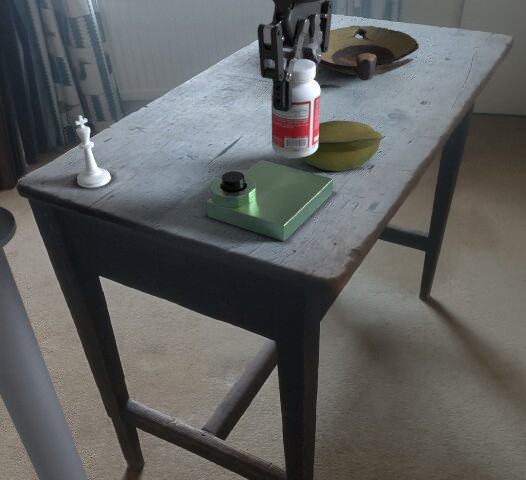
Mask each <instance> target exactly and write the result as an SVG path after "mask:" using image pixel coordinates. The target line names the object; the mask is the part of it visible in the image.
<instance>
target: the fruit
mask: <svg viewBox="0 0 526 480" xmlns="http://www.w3.org/2000/svg"><path fill="white" fill-rule="evenodd" d="M383 139H384V137H383V135H382V133H381V132H380V131H376V130H374V128H373V127H372V126H371V125H368V124H365V123H363V122H359V121H353V120H328V121H324V122H319V139H318V148H317V150H316V151H315V152H314V153H313V154H311V155H309V156H306V157H301V158H299V159H300V160H302V161H303V162H305V163H306V164H309V166H311V167H314V168H316V169H319V170H324V171H329V172H345V171H346V172H347V171H350V170H354V169H357V168H360V167H361V166H363V165H364V164H366V163H367V162H368V161H370V160H371V158H373V157H374V155H376V153H377V152H378V150H379V147H380V143H381V141H382V140H383Z"/></svg>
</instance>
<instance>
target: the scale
mask: <svg viewBox="0 0 526 480" xmlns="http://www.w3.org/2000/svg"><path fill="white" fill-rule="evenodd" d="M243 174H244V180H245V189H244V190H243V191H240V192H226V191H224V190H223V189H222V176H221V177H218V178H217V179H215V180H214V181H213V182H212V183H211V187H210V193H211V194H210V195H211V197H210V198H209V199H208V200H207V201H206V210H207V211H206V212H207V217H208V218H211V219H214V220H217V221H221V222H223V223H226V224H229V225H233V226H235V227H238V228H242V229H244V230H248V231H251V232H254V233H256V234H260V235H262V236H266V237H269V238H272V239H274V240H278V241H282V242H285V241H286V240H287V239H288V238H289V237H290V236H291V235H292V234H293V233H294V232H295V231H296V230H297V229H298V228H299V227H300V226H301V225H302V224H303V223H304V222H305V221H306V220H307V219H308V218H309V217H310V216H311V215H313V213H314V212H315V211H316V210H317V209H318V208H320V207H321V205H323V204H324V203H325V201H327V199H328V198H330V197H331V195H332V194H333V190H334V189H333V188H334V178H331V177H328V176H324V175H320V174H316V173H312V172H308V171H305V170H301V169H297V168H294V167H289V166H287V165H282V164H278V163H275V162H271V161H267V160H263V159H260V160H259V161H257V162H256V163H255V164H253V165H252V166H251V167H249V168H248V169H247V170H245V171H244V172H243Z"/></svg>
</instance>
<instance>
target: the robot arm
mask: <svg viewBox="0 0 526 480" xmlns="http://www.w3.org/2000/svg"><path fill="white" fill-rule="evenodd" d="M272 2H273V4H274V9H273V15H272V19H271V22H270V23H268V24H267V23H266V24H265V23H259V24H258V26H257V42H258V44H257V45H258V55H259V69H260V77H261V78H263V79H269V80H271V81H272V86H273V107H274V109H276V110H279V111H284V112H287V111H289V110H290V109H291V106H292V80H291V77H292V73H293V68H294V64H295V62H297V61H298V60H299V59H300V58H301V59H308V60H311V61H313V62H314V63H315V65H316V74H315V78H314V79H313V80H315V81H316V82H317V83H319V81H318V78H319V62H320V61H321V58H322V53H326V52H327V51H328V47H329V37H330V31H331V26H332V15H333V6H334V5H333V4H334V2H333V0H272ZM321 34H322V35H321ZM284 49H287V50H290V51H287V50H284ZM284 60H287V62H286V66H285V70H284ZM270 61H271V62H270Z"/></svg>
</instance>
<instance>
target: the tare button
mask: <svg viewBox="0 0 526 480" xmlns="http://www.w3.org/2000/svg"><path fill="white" fill-rule="evenodd" d="M243 173H244V172H243ZM243 173H242V172H241V171H237V170H230V171H227V172H224V173H223V174H222V175H221V177H222V189H223V190H224V191H226V192H240V191H243V190H244V189H245V180H244V174H243Z"/></svg>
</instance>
